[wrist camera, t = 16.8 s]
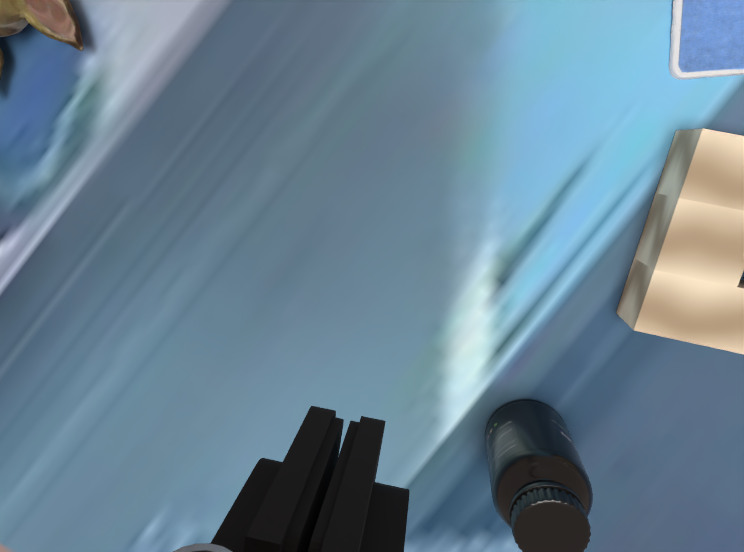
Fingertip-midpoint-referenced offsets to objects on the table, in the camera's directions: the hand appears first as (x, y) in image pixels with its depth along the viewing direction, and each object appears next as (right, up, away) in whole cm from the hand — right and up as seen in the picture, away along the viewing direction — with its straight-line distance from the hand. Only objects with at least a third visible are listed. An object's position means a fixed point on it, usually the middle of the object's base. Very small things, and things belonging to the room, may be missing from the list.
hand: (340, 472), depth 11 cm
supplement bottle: (+14, -9, +33) cm, 37 cm away
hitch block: (+29, +6, +27) cm, 40 cm away
